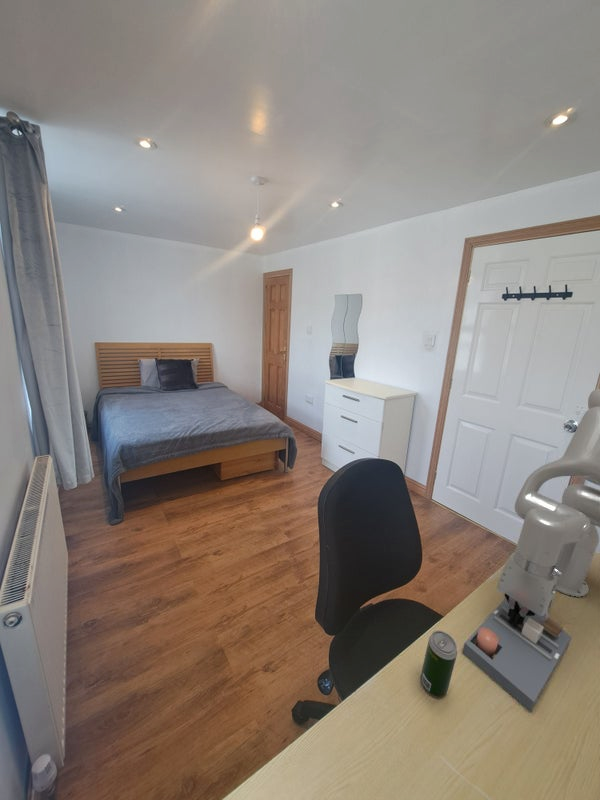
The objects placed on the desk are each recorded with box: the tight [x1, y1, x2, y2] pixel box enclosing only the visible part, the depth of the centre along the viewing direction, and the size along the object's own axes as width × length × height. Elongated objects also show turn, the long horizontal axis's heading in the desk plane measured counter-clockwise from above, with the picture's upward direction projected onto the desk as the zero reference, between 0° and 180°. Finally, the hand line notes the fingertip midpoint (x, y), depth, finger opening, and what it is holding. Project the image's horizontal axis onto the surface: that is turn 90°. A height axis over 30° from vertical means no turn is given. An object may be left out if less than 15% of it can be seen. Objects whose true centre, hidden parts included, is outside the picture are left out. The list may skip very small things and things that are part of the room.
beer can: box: [420, 630, 458, 699], centre depth 66 cm, size 5×5×12 cm
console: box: [461, 597, 573, 713], centre depth 76 cm, size 24×14×4 cm, turn 126°
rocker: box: [541, 616, 564, 637], centre depth 78 cm, size 5×3×1 cm, turn 127°
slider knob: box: [521, 617, 544, 644], centre depth 76 cm, size 3×3×3 cm
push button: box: [475, 628, 499, 657], centre depth 74 cm, size 4×4×4 cm
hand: (514, 622), depth 79 cm, fingers closed
